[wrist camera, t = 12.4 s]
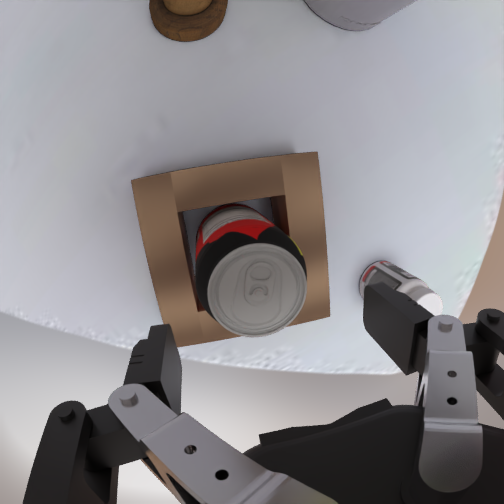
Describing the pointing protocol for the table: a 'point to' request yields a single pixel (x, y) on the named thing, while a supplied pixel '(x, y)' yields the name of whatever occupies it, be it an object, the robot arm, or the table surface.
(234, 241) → the beverage can
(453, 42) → the table surface
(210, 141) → the table surface
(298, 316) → the socket block
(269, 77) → the table surface
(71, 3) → the table surface
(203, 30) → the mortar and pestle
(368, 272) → the pill bottle
